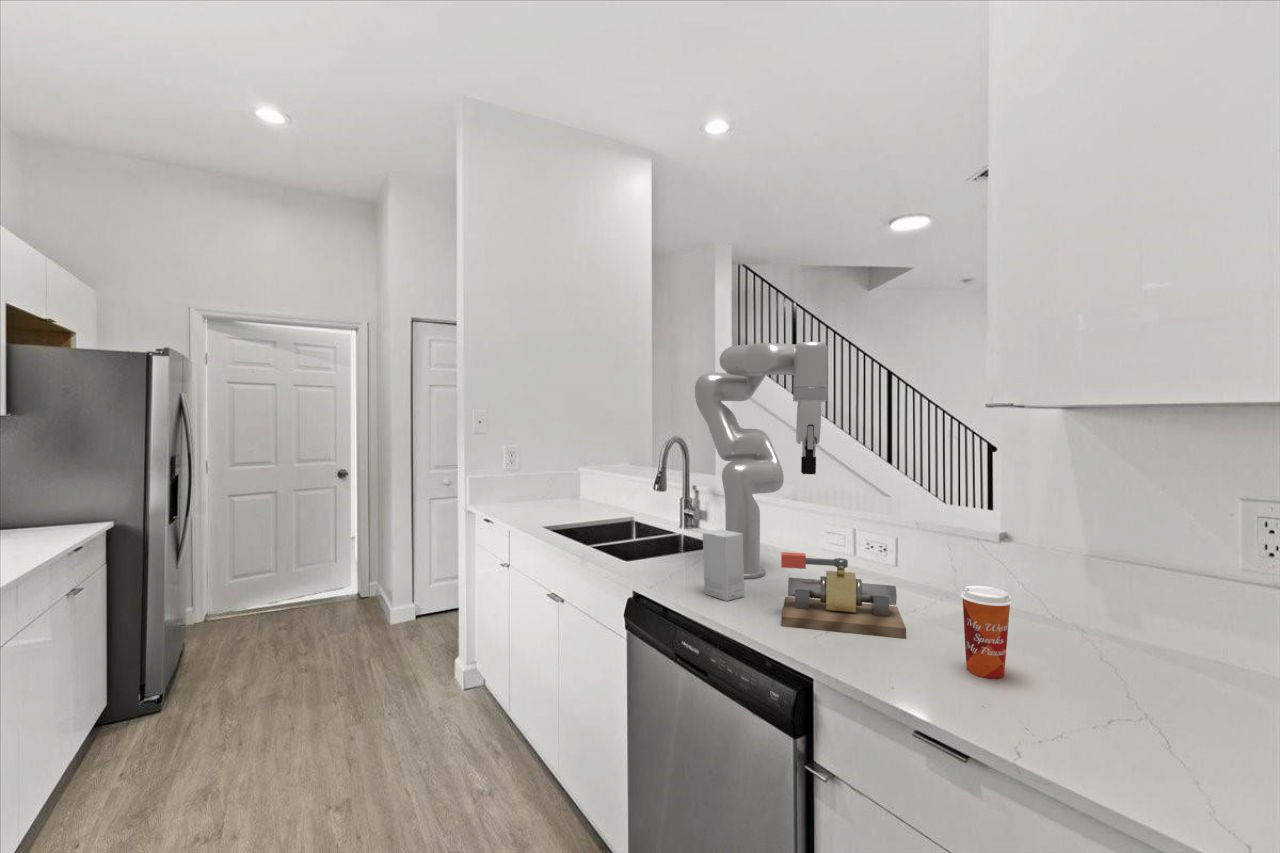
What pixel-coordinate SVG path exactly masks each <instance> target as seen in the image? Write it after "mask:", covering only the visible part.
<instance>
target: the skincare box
mask: <svg viewBox="0 0 1280 853" xmlns="http://www.w3.org/2000/svg"><path fill="white" fill-rule="evenodd" d="M702 549H703V550H702V552H703V553H702V554H703V584H704V586H703V587H704V590H703V591H704V594H706V595H708V596H711V597H713V598H717V599H720V600H723V601H725V602H729V601H733V600H738V599H741V598H743V597H745V578H744V561H743V534H742V533H737V532H732V531H727V530H726V529H722V528H721V529H715V530H710V531H704V532H702Z"/></svg>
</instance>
